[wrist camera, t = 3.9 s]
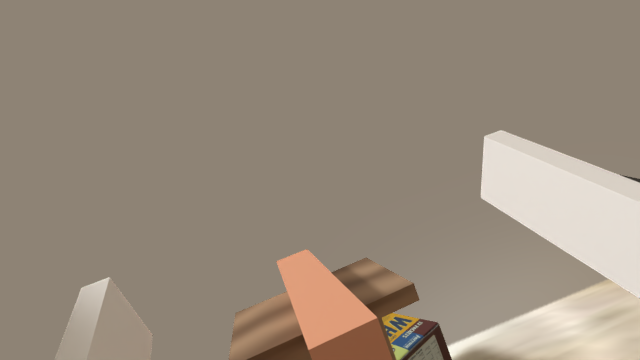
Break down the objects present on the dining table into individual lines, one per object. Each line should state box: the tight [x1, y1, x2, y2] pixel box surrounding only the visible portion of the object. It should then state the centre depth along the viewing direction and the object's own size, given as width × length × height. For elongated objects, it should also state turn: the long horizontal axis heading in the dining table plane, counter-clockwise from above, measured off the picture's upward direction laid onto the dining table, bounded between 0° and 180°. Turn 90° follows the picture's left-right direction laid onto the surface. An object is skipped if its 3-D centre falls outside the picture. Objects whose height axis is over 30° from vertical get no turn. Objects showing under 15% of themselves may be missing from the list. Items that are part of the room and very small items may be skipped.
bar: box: [277, 249, 392, 360], centre depth 29 cm, size 24×4×3 cm, turn 12°
